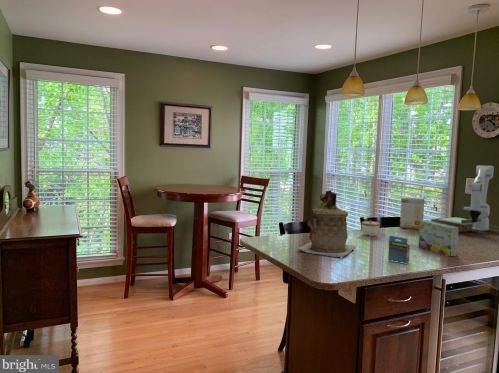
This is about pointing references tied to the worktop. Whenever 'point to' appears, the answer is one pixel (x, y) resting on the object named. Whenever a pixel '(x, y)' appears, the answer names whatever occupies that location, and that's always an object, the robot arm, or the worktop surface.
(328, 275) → the worktop surface
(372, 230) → the lidded jar
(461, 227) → the crate
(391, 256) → the label tape box
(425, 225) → the snack box
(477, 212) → the robot arm
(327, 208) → the cookie jar
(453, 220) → the lid
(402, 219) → the cracker box
